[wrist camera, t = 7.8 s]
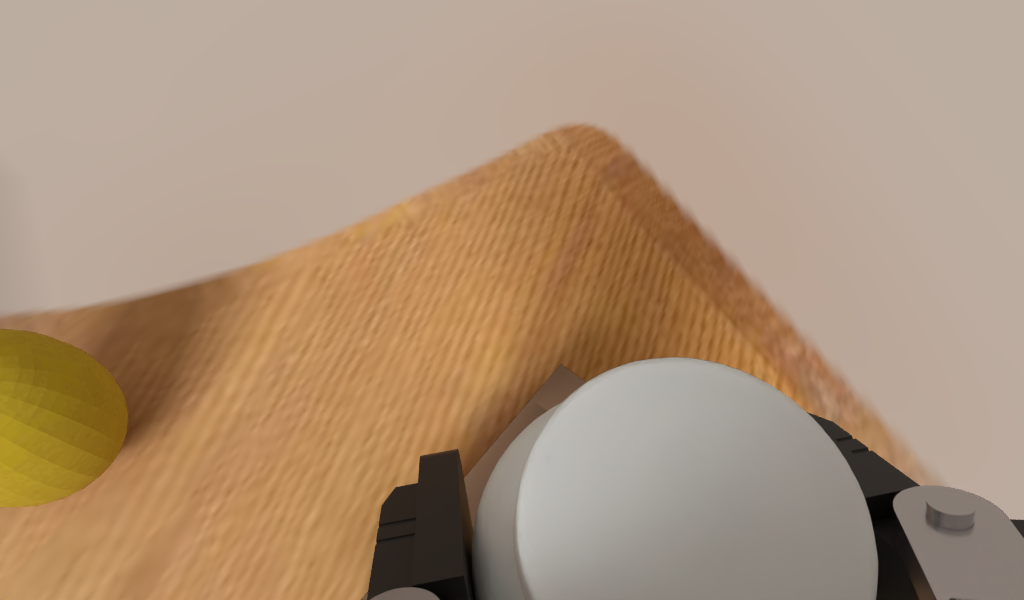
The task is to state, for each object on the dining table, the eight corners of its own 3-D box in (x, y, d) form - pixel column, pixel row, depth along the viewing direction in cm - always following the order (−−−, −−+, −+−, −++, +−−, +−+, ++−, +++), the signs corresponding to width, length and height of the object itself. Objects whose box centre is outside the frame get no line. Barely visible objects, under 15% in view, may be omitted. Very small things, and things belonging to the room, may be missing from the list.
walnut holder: (360, 626, 21) (340, 623, 19) (559, 388, 25) (561, 363, 23) (631, 911, 17) (645, 950, 15) (814, 578, 21) (845, 570, 19)
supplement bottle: (449, 635, 15) (348, 621, 6) (551, 443, 17) (576, 244, 9) (659, 773, 13) (884, 983, 5) (739, 543, 16) (986, 422, 7)
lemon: (41, 397, 25) (-147, 303, 18) (176, 377, 26) (41, 275, 19) (7, 537, 23) (-228, 489, 16) (158, 512, 23) (-7, 454, 16)
